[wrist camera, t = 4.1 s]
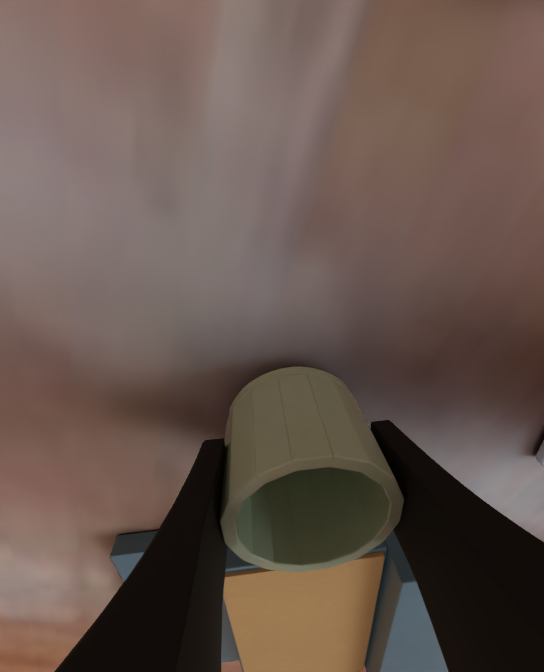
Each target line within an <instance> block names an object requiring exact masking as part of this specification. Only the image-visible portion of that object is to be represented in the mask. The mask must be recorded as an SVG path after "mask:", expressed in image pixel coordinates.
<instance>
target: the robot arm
mask: <svg viewBox="0 0 544 672" xmlns="http://www.w3.org/2000/svg"><path fill="white" fill-rule="evenodd" d="M371 431H372V433H373V435H374V437H375V439H376V441H377V443H378V445H379V447H380V449H381V451H382V453H383V455H384V457H385V459H386V461H387V463H388V465H389V467H390V469H391V471H392V473H393V475H394V477H395V479H396V481H397V483H398V485H399V488H400V490H401V492H402V494H403V496H404V504H403V509H402V513H401V518H400V521H399V523H398V525H397V526H396V527H395V528H394V529H393V531H394V533H395V535H396V537H397V539H398V541H399V544H400V546H401V548H402V550H403V552H404V554H405V557H406V559H407V561H408V563H409V565H410V568H411V570H412V572H413V575H414V577H415V580H416V582H417V585H418V587H419V590H420V593H421V595H422V598H423V601H424V604H425V606H426V609H427V612H428V614H429V617H430V620H431V623H432V626H433V628H434V631H435V634H436V637H437V640H438V643H439V646H440V648H441V651H442V654H443V657H444V660H445V663H446V666H447V669H448V672H544V542H543V541H541V540H539V539H538V538H536V537H535V536H533V535H532V534H530V533H529V532H527V531H526V530H524V529H523V528H521V527H520V526H518V525H517V524H515V523H514V522H513V521H511V520H510V519H508V518H507V517H505V516H504V515H503V514H501V513H500V512H498V511H497V510H495V509H494V508H493V507H491V506H490V505H489V504H487V503H486V502H484V501H483V500H482V499H480V498H479V497H478V496H477V495H475V494H474V493H473V492H471V491H470V490H469V489H468V488H466V487H465V486H464V485H463V484H461V483H460V482H459V481H458V480H456V479H455V478H454V477H453V476H451V475H450V474H449V473H448V472H447V471H446V470H444V469H443V468H442V467H441V466H440V465H439V464H437V463H436V462H435V461H434V460H433V459H432V458H430V457H429V456H428V455H427V454H426V453H425V452H424V451H422V450H421V449H420V448H419V447H418V446H417V445H416V444H415V443H414V442H413V441H411V440H410V439H409V438H408V437H407V436H406V435H405V434H404V433H403V432H402V431H401V430H399V429H398V428H397V427H396V426H395V425H394V424H393V423H392V422H391V421H389V420H384V421H375V422H371ZM224 458H225V443H224V438H220V439H211V440H205V441H204V442H203V443H202V446H201V448H200V451H199V453H198V456H197V458H196V460H195V462H194V465H193V467H192V469H191V471H190V473H189V475H188V477H187V479H186V481H185V483H184V485H183V487H182V489H181V491H180V493H179V495H178V497H177V498H176V500H175V502H174V504H173V506H172V508H171V509H170V511H169V513H168V515H167V516H166V518H165V520H164V521H163V523H162V525H161V527H160V528H159V530H158V532H157V533H156V535H155V537H154V538H153V540H152V541H151V543H150V544H149V546H148V548H147V549H146V551H145V552H144V554H143V555H142V557H141V558H140V560H139V561H138V563H137V564H136V566H135V567H134V569H133V570H132V572H131V573H130V575H129V576H128V577H127V579H126V580H125V581H124V583H123V584H122V586H121V587H120V588H119V590H118V591H117V593H116V594H115V595H114V597H113V598H112V600H111V601H110V602H109V604H108V605H107V606H106V608H105V609H104V610H103V612H102V613H101V614H100V616H99V617H98V618H97V619H96V621H95V622H94V623H93V625H92V626H91V627H90V628H89V629H88V631H87V632H86V633H85V634H84V636H83V637H82V638H81V639H80V641H79V642H78V643H77V644H76V646H75V647H74V648H73V649H72V651H71V652H70V653H69V654H68V656H67V657H66V658H65V659H64V661H63V662H62V663H61V664H60V666H59V667H58V668H57V669H56V670H55V672H221V647H222V607H223V591H224V581H225V570H226V560H227V550H228V546H227V545H226V544H225V542H224V538H223V534H222V530H221V525H220V510H221V495H222V481H223V473H224ZM536 460H537V461H538V462H539V463H540V464H541V465H542V466H544V440H543V442H542V444H541V446H540V448H539V450H538V452H537V455H536Z"/></svg>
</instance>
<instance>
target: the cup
mask: <svg viewBox="0 0 544 672" xmlns="http://www.w3.org/2000/svg"><path fill="white" fill-rule="evenodd" d="M403 504H404V496H403V494H402V492H401V490H400V488H399V485H398V483H397V481H396V479H395V477H394V475H393V473H392V471H391V469H390V467H389V465H388V463H387V461H386V459H385V457H384V455H383V453H382V451H381V449H380V447H379V445H378V443H377V441H376V439H375V437H374V435H373V433H372V431H371V429H370V428H369V426H368V424H367V422H366V420H365V418H364V416H363V414H362V412H361V410H360V408H359V406H358V404H357V402H356V400H355V398H354V396H353V395H352V393H351V391H350V390H349V388H348V387H347V386H346V385H345V384H344V383H343V382H342V381H341V380H340V379H338V378H337V377H335V376H334V375H332V374H330V373H328V372H326V371H323V370H320V369H316V368H311V367H287V368H281V369H277V370H273V371H270V372H268V373H265V374H263V375H261V376H259V377H257V378H256V379H254V380H253V381H251V382H250V383H249V384H247V385H246V386H245V387H244V388H243V389H242V390H241V391H240V392H239V394H238V395H237V396H236V398H235V399H234V401H233V403H232V405H231V407H230V410H229V414H228V423H227V426H226V436H225V458H224V473H223V481H222V495H221V510H220V525H221V530H222V534H223V538H224V542H225V544H226V545H227V546H228V547H229V548H230V549H231V550H232V551H233V552H234V553H235V554H236V555H237V556H238V557H239V558H241V559H243V561H246V562H249V563H251V564H254V565H257V566H259V567H262V568H264V569H268V570H276V571H288V572H305V571H312V570H320V569H328V568H332V567H334V566H337V565H340V564H343V563H346V562H349V561H351V560H354V559H357V558H358V557H361V556H362V555H364V554H366V553H367V552H369V551H370V550H372V549H373V548H375V547H376V546H378V545H379V544H381V543H382V542H383V541H385V539H386V538H387V537H388V536H389V534H390V533H391V532H392V531H393V529H394V528H395V527H396V526H397V525H398V523H399V521H400V518H401V513H402V509H403Z"/></svg>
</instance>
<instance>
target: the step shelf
mask: <svg viewBox="0 0 544 672" xmlns="http://www.w3.org/2000/svg"><path fill="white" fill-rule="evenodd" d="M157 532H158V531H150V532H142V533H134V534H126V535H118V536H117V538H116V540H115V543H114V546H113V549H112V552H111V555H110V558H111V560H112V562H113V563H114V565H115V567H116V569H117V570H118V572H119V574H120V576H121V578H122V579H123V581H125V580H126V579H127V577H128V576H129V575H130V573H131V572H132V570H133V569H134V567H135V566H136V564H137V563H138V561H139V560H140V558H141V557H142V555H143V554H144V552H145V551H146V549H147V548H148V546H149V544H150V543H151V541H152V540H153V538H154V537H155V535H156V533H157ZM235 660H239V661H240V664H241V668H242V671H243V672H353V671H360V670H363V669H364V666H365V668H366V672H448V669H447V666H446V663H445V660H444V657H443V654H442V651H441V648H440V646H439V643H438V640H437V637H436V634H435V631H434V628H433V626H432V623H431V620H430V617H429V614H428V612H427V609H426V606H425V604H424V601H423V598H422V595H421V593H420V590H419V587H418V585H417V582H416V580H415V577H414V575H413V572H412V570H411V568H410V565H409V563H408V561H407V559H406V557H405V554H404V552H403V550H402V548H401V546H400V544H399V541H398V539H397V537H396V535H395V533H394V531H392V532H391V533H390V534H389V536H388V537H387V538H386V539H385V541H383V542H382V543H381V544H379V545H378V546H376V547H375V548H373V549H372V550H370V551H369V552H367V553H366V554H364V555H362V556H361V557H358V558H357V559H354V560H351V561H349V562H346V563H343V564H340V565H337V566H334V567H332V568H328V569H320V570H312V571H305V572H288V571H276V570H268V569H264V568H262V567H259V566H257V565H254V564H251V563H249V562H246V561H243V559H241V558H239V557H238V556H237V555H236V554H235V553H234V552H233V551H232V550H231V549H230V548H229V547H228V550H227V560H226V570H225V581H224V591H223V607H222V647H221V663H222V662H229V661H235Z"/></svg>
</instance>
